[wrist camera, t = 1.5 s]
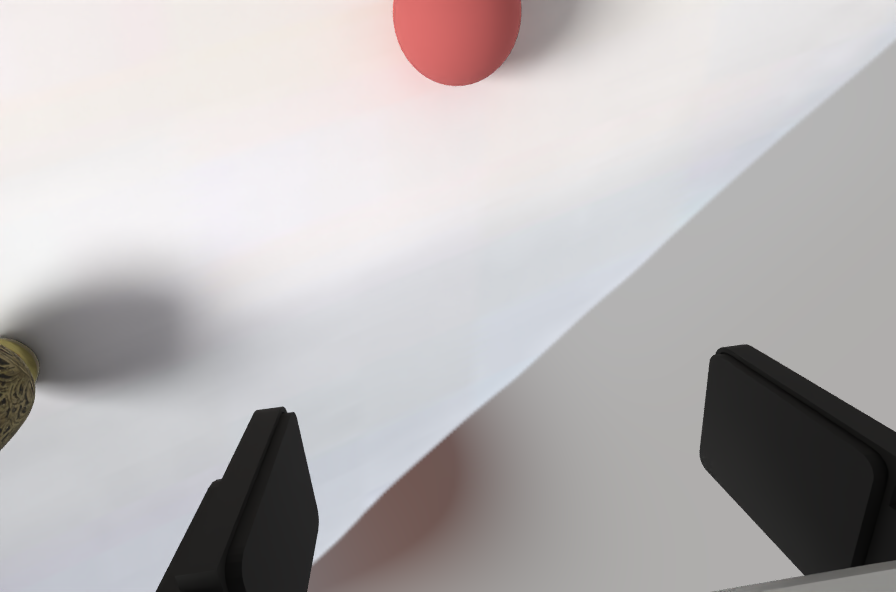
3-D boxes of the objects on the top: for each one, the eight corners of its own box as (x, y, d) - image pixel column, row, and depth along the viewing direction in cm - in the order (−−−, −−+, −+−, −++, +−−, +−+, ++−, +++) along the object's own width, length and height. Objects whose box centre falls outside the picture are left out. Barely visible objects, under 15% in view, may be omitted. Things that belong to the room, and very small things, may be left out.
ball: (383, -33, 24) (383, -82, 18) (500, -44, 24) (534, -94, 19) (400, 96, 26) (405, 87, 20) (507, 83, 26) (540, 72, 21)
